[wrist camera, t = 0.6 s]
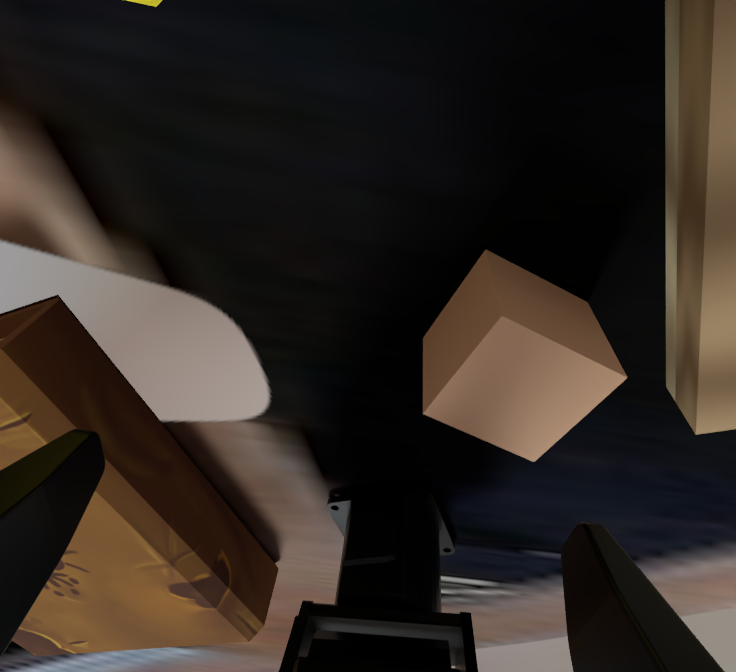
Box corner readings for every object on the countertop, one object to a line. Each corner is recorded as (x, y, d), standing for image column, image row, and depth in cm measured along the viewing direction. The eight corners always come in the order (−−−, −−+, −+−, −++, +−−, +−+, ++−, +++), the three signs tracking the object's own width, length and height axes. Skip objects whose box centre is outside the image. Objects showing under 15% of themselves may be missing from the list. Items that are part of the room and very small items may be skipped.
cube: (586, 300, 20) (627, 377, 16) (514, 379, 23) (534, 462, 19) (485, 248, 19) (501, 315, 15) (423, 336, 22) (422, 413, 18)
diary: (282, 554, 35) (260, 641, 30) (82, 578, 40) (36, 656, 35) (70, 289, 23) (-20, 366, 18) (-178, 372, 28) (-298, 448, 23)
